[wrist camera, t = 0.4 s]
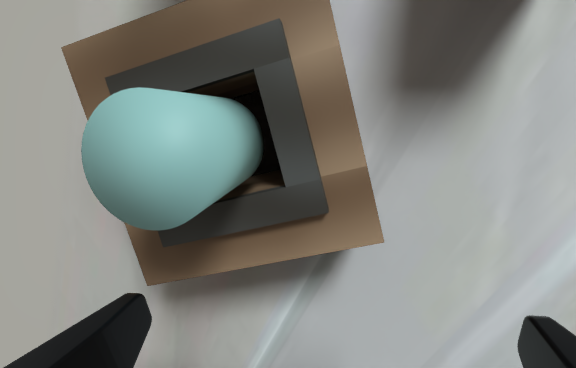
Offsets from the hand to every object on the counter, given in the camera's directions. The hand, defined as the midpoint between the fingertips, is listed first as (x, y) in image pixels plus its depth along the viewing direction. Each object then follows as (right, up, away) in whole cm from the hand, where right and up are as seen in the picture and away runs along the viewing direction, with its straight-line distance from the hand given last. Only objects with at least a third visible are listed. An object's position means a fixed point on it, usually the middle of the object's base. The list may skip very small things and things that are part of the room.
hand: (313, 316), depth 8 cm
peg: (-4, +5, +7) cm, 9 cm away
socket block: (-3, +6, +13) cm, 14 cm away
